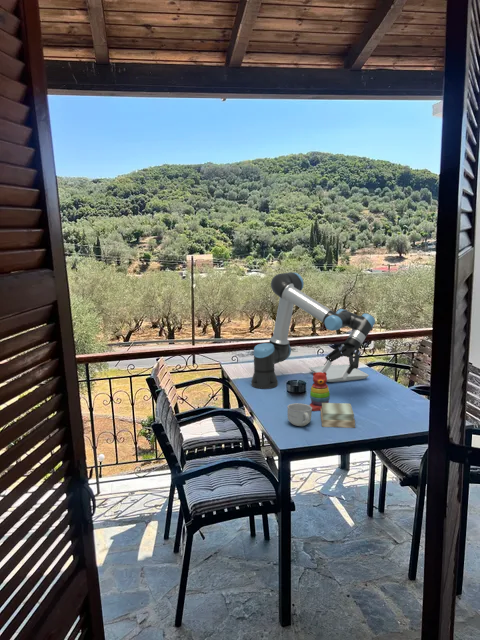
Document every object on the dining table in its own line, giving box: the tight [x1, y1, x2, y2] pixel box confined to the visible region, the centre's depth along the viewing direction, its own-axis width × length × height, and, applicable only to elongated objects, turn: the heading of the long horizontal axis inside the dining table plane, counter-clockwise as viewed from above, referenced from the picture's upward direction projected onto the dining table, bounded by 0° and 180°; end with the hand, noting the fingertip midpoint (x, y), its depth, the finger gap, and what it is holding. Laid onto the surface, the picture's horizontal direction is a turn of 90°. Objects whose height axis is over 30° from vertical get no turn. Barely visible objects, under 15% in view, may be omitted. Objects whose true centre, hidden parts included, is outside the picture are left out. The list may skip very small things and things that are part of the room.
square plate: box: [308, 363, 370, 383], centre depth 259 cm, size 27×27×4 cm
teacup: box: [286, 402, 313, 427], centre depth 188 cm, size 14×11×8 cm
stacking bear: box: [308, 372, 331, 412], centre depth 207 cm, size 11×10×18 cm
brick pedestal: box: [320, 402, 356, 429], centre depth 192 cm, size 14×14×6 cm
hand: (332, 375), depth 209 cm, fingers open, 13 cm apart
